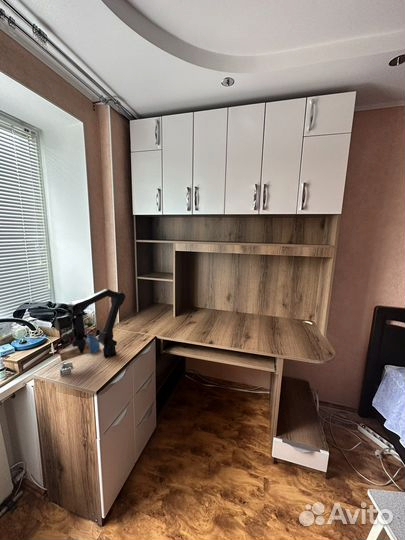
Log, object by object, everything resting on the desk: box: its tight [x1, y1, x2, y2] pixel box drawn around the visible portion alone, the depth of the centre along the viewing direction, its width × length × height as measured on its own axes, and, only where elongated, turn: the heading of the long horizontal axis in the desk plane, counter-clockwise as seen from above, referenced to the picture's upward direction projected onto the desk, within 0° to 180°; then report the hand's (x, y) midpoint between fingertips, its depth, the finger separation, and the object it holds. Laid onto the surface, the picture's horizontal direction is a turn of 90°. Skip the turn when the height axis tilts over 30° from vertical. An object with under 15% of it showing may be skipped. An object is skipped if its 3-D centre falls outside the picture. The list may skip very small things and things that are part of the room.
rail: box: [59, 342, 91, 362], centre depth 124 cm, size 14×4×4 cm, turn 116°
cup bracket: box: [59, 361, 74, 376], centre depth 122 cm, size 5×8×3 cm, turn 25°
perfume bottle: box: [86, 331, 101, 355], centre depth 144 cm, size 6×6×12 cm
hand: (82, 351), depth 125 cm, fingers closed on rail, 4 cm apart
